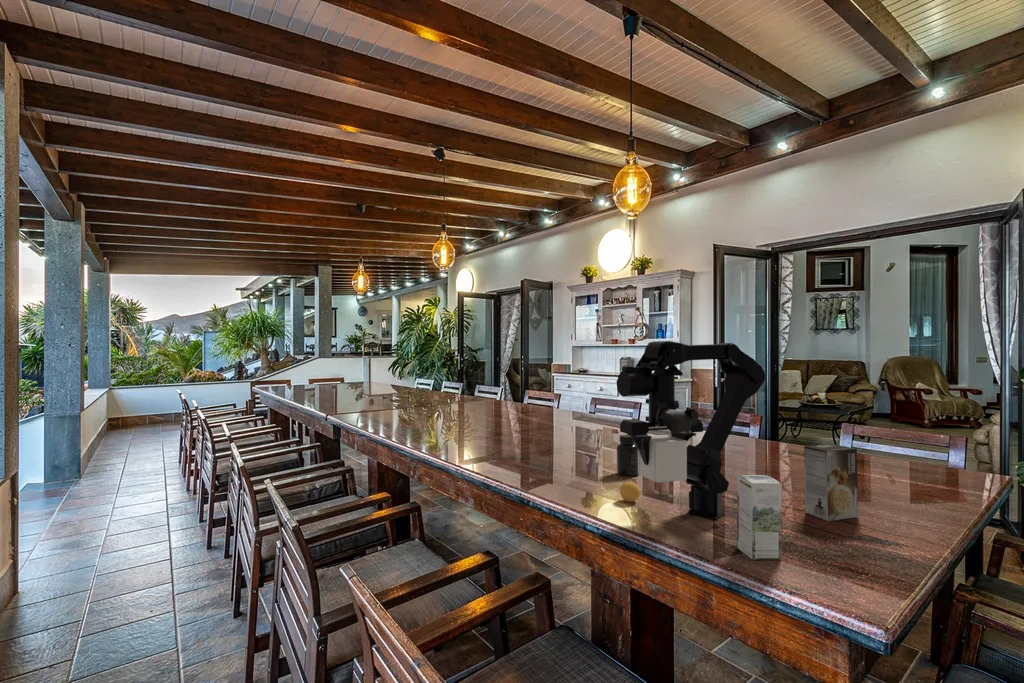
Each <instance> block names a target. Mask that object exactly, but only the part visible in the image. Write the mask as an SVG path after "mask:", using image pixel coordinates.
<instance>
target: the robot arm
mask: <svg viewBox="0 0 1024 683" xmlns="http://www.w3.org/2000/svg"><path fill="white" fill-rule="evenodd" d="M702 360H703V361H705V360H706V361H710V360H717V362H718V364H719V368H720V370H721V371H722V372H723V374H724V375H725V377H724V379H723V383H724V384H723V385H724V394H723V396H722V398H721V399H720V402H719V404H718V406H717V408H716V410H715V412H714V414H713V415H712V418H711V419H710V421H709V424H708V426H707V428H706V430H705V432H704V423H703V422H702V421H701V419H700V418H699V411H698V410H696V409H695V408H687V409H686V410H684V409H681V408H680V403H679V400H676V399H675V392H676V391H675V388H676V386H675V385H676V384H675V383H676V382H675V381H676V380H675V378H676V377H677V376H678V377H681V376H683V375H684V372H682V371H681V369H679V368H678V367H677V366H678V365H681V364H684V363H685V362H689V361H702ZM765 380H766V374H765V370H764V369H763V367H762V365H760V364H759V363H758V362H757V361H756V360H755V359H754V358H753V357H751V356H750V355H748V354H746V353H745V352H744V351H742V349H740V347H738V345H737V344H735V343H733V342H719V343H717V344H714V343H713V344H685V343H682V342H677V341H671V340H663V341H662V340H660V341H659V340H657V341H650V342H648V343H647V345H646V346H645V349H644V353H643V354H642V356H641V357H640V359H639V360H638V362H637V364H636V365H635V366H626V365H625V366H624V365H623V366H622V367H621V371H620V372H619V374H618V377H617V380H616V389H617V392H618V394H619V395H620V396H621V397H626V398H628V397H647V396H648V398H645V404H647V405H648V416H645V421H644V420H640V419H635V418H634V419H633V418H632V419H631V418H630V419H622V421H621V423H620V424H619V432H620V433H623V434H625V435H629V436H631V437H632V439H633V441H634V442H635V444H636V446H637V448H638V450H639V453H640V455H641V457H642V460H643V462H644V464H645V465H648V464H649V441H650V439H651V438H652V436H653V435H649V432H650V431H665V430H669V431H670V434H671V435H670V436H672V437H676V438H679V439H683V440H686V441H687V442H688V441H689V440H690V439H691V438H692V437H696V435H697V433H703V432H704V434H703V436H702V438H701V440H700V442H699V443H697V444H696V445H691V444H687V480H685V482H686V484H687V485H691V486H690V491H688V508H689V510H688V511H687V513H688V514H691V515H693V516H698V517H702V518H706V519H711V520H717V519H718V518H719V517H721V516H723V515H724V514H725V513H726V511H725V510H723V493H724V492H727V491H728V488H729V484H730V483H729V480H728V479H726V477H725V476H724V475H723V474H722V473H721V469H722V466H723V462H722V450H723V448H724V446H725V444H726V442H727V439H728V437H729V436H730V434H731V432H732V430H733V427H734V426H735V423H736V421H737V419H738V417H739V415H740V413H741V411H742V409H743V407H744V405H745V403H746V401H747V400H748V399H749V398H751V397H752V396H754V395H755V394H757V393H758V391H759V390H760V389H761V387H762V386H763V384H764V383H765Z"/></svg>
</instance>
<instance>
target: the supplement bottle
mask: <svg viewBox="0 0 1024 683" xmlns="http://www.w3.org/2000/svg"><path fill="white" fill-rule="evenodd" d="M616 473H617V474H618V475H619V474H620V475H619V476H621V475H624V476H623V477H628V476H632V477H637V476H639V474H638V448H637V446H636V444H635V442H634V441H633V439H632V437H631V436H629V435H627V434H621V435H619V443H618V444H617V445H616ZM636 475H637V476H636Z"/></svg>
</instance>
